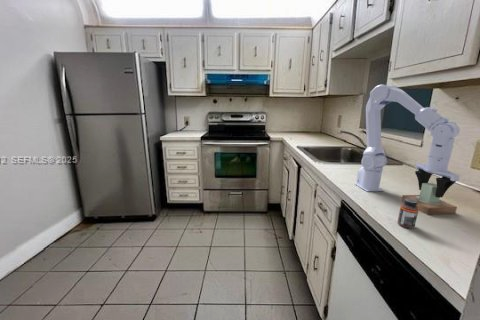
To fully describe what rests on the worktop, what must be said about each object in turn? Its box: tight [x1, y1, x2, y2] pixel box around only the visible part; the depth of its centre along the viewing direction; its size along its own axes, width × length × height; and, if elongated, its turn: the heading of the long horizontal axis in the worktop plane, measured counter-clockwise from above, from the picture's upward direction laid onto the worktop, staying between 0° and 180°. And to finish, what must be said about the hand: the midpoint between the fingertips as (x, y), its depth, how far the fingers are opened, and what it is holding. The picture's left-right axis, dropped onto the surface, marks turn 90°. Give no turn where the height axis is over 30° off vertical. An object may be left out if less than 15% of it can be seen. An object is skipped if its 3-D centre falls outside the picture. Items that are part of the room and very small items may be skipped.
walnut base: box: [401, 194, 458, 216], centre depth 84 cm, size 11×11×3 cm
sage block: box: [419, 182, 441, 203], centre depth 83 cm, size 4×4×6 cm
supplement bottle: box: [397, 199, 419, 229], centre depth 70 cm, size 4×4×8 cm
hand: (430, 193), depth 83 cm, fingers open, 6 cm apart
